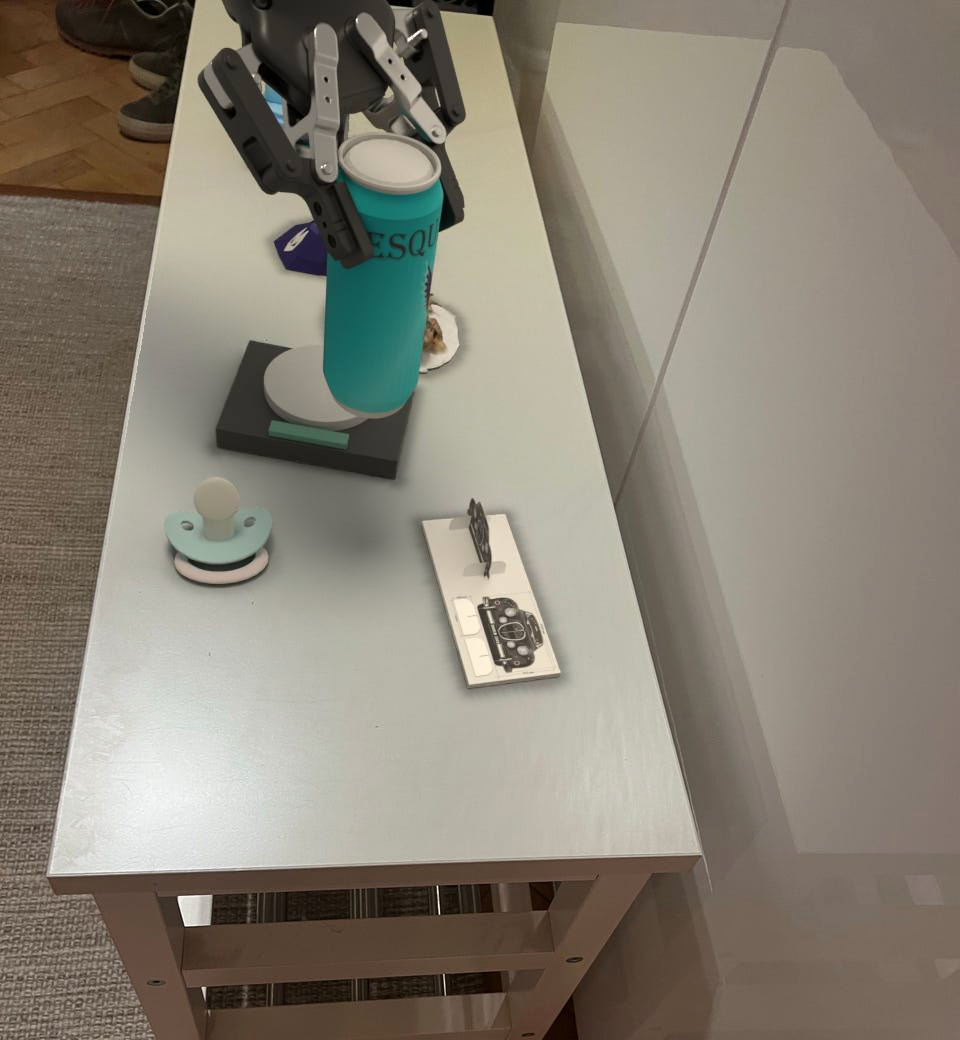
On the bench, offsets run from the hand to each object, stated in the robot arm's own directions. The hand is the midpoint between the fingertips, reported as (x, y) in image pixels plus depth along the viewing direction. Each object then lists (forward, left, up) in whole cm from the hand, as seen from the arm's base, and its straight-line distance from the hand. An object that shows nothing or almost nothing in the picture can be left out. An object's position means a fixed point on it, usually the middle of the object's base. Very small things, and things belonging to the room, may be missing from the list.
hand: (406, 243), depth 52 cm
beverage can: (-1, +1, -11) cm, 12 cm away
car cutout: (+9, -1, -26) cm, 28 cm away
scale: (-7, +14, -26) cm, 31 cm away
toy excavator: (-16, +56, -26) cm, 64 cm away
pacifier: (-11, -2, -26) cm, 28 cm away
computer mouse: (-8, +39, -26) cm, 48 cm away
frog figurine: (-2, +27, -26) cm, 38 cm away
